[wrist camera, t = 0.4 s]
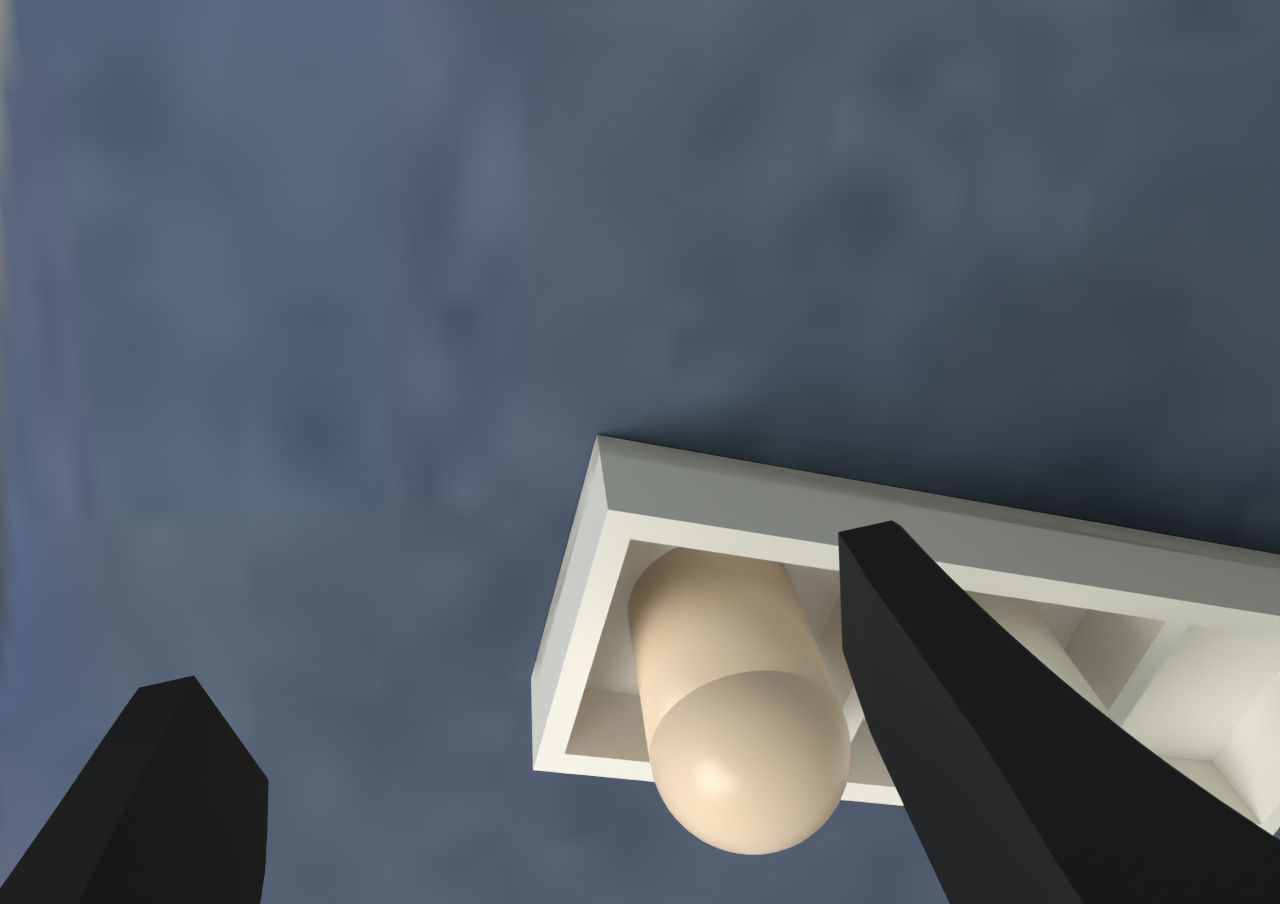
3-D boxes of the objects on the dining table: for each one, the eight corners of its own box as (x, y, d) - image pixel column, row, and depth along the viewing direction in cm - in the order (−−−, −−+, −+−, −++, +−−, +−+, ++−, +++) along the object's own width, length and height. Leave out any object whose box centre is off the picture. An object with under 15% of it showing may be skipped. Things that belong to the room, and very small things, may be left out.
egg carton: (1201, 757, 29) (1385, 990, 23) (531, 678, 25) (536, 940, 19) (1341, 565, 26) (1600, 777, 20) (596, 434, 22) (629, 656, 15)
